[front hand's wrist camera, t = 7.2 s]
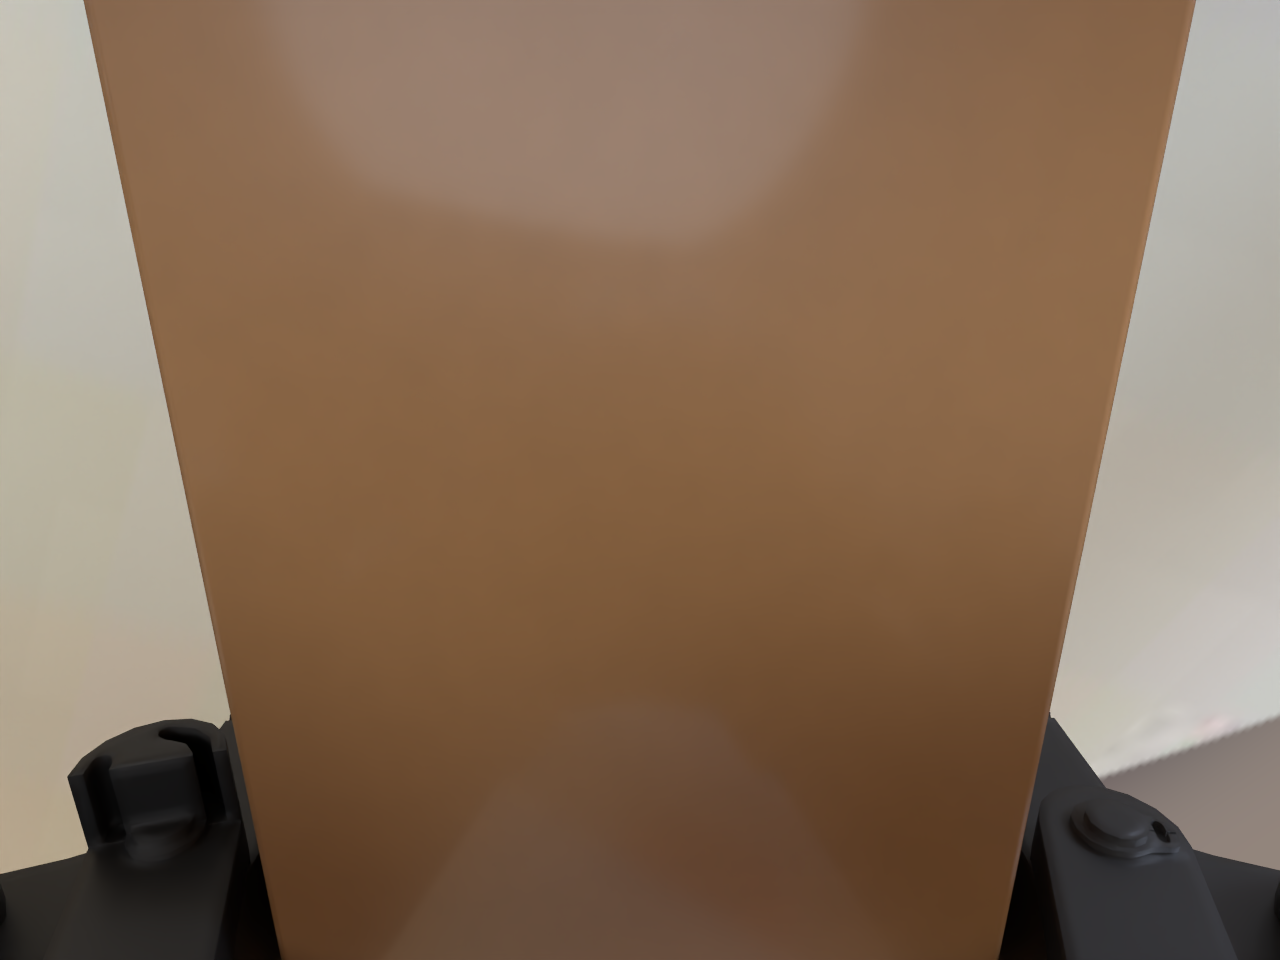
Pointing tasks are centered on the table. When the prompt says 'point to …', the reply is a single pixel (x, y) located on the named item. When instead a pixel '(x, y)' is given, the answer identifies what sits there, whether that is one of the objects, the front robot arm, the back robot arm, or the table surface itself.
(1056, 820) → the front robot arm
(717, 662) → the bar
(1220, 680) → the table surface
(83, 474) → the table surface
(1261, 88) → the table surface
